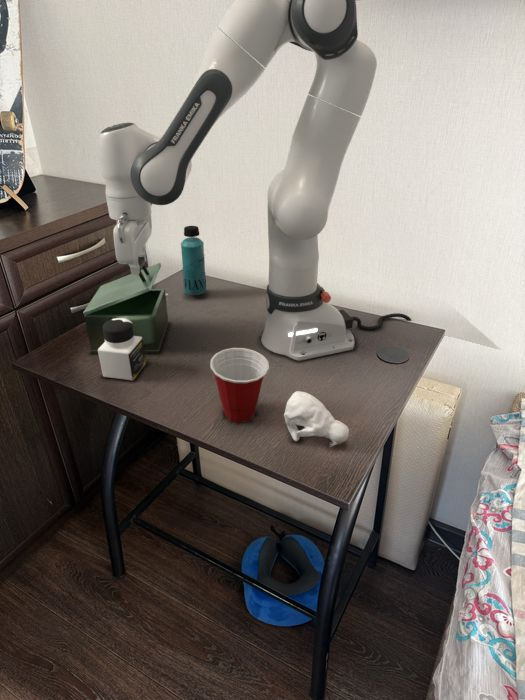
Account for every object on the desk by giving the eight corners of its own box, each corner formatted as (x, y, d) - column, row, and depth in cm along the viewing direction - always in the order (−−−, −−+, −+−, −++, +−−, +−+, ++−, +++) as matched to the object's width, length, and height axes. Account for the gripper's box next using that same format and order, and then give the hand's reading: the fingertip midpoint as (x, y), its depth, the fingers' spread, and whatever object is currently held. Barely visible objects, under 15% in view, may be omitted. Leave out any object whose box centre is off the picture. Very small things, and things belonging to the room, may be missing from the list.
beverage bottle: (181, 299, 141) (175, 230, 131) (188, 289, 147) (182, 222, 137) (203, 301, 140) (199, 231, 130) (209, 291, 146) (206, 224, 136)
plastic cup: (250, 439, 91) (250, 385, 85) (201, 420, 96) (198, 368, 89) (278, 407, 99) (279, 356, 93) (232, 391, 104) (230, 341, 97)
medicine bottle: (133, 381, 107) (125, 332, 100) (102, 377, 108) (92, 328, 102) (146, 363, 113) (139, 316, 106) (117, 360, 114) (108, 313, 108)
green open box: (168, 323, 129) (164, 288, 124) (158, 353, 116) (154, 316, 111) (108, 323, 129) (101, 288, 124) (91, 353, 116) (84, 315, 111)
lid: (161, 265, 121) (151, 247, 118) (150, 290, 108) (139, 270, 106) (102, 288, 124) (91, 270, 121) (84, 315, 111) (72, 296, 109)
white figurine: (296, 381, 92) (359, 403, 88) (290, 416, 96) (350, 438, 93) (282, 399, 87) (348, 424, 83) (277, 435, 91) (339, 460, 88)
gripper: (133, 221, 97) (144, 286, 104) (152, 194, 115) (160, 252, 122) (101, 222, 97) (113, 287, 104) (125, 195, 115) (134, 252, 122)
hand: (139, 268), depth 113 cm, fingers closed on lid, 5 cm apart
